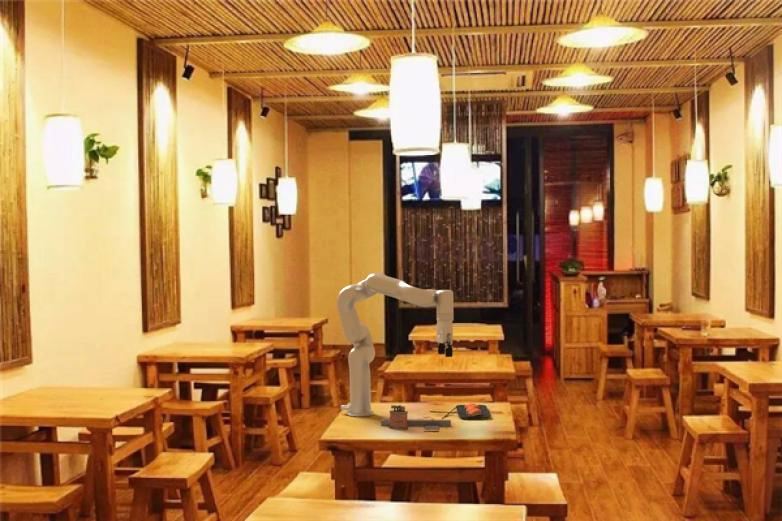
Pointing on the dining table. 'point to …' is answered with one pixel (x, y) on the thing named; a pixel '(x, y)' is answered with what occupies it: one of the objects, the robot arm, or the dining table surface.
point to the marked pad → (431, 428)
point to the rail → (420, 422)
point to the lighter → (398, 418)
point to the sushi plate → (470, 411)
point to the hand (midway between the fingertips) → (445, 355)
